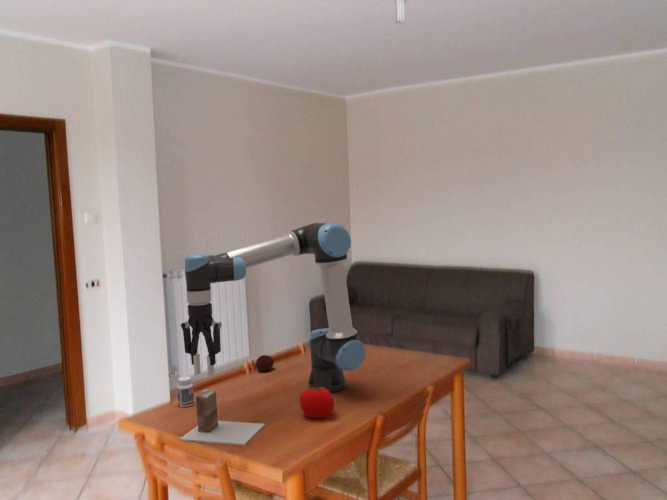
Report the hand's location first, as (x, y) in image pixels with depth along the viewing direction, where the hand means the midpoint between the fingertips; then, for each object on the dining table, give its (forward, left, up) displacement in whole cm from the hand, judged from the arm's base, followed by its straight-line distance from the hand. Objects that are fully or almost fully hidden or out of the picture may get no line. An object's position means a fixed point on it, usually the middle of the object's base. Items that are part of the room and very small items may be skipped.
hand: (204, 374), depth 189 cm
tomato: (-32, -18, -19) cm, 41 cm away
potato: (+8, -66, -19) cm, 69 cm away
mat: (-6, +1, -19) cm, 20 cm away
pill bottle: (+20, -21, -19) cm, 35 cm away
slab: (0, 0, -18) cm, 18 cm away
